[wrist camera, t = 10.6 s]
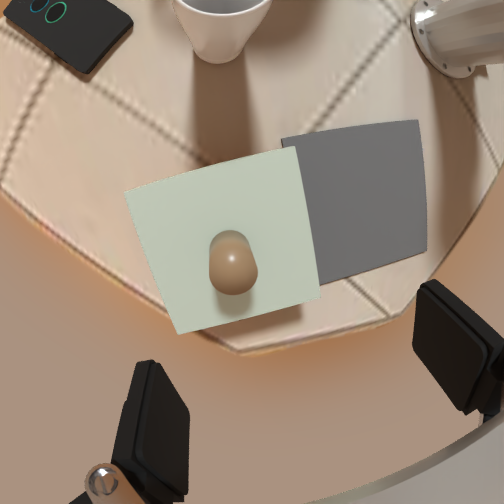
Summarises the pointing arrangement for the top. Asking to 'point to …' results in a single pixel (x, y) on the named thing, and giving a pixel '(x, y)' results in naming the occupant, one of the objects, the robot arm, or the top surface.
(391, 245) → the mat
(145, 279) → the top surface
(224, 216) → the cover sheet
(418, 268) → the top surface
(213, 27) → the drinking glass
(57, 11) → the smart home device
